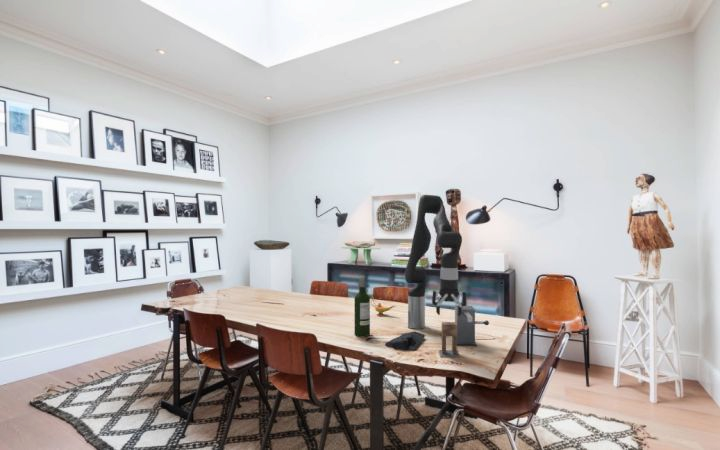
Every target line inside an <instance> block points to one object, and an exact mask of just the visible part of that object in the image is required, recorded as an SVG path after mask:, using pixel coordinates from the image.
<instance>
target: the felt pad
mask: <svg viewBox="0 0 720 450" xmlns="http://www.w3.org/2000/svg"><path fill="white" fill-rule="evenodd" d="M438 352H439V355H440V358H452V359H453V358H454V359H456V358H457V359H461V356H460V353H459V351H458V350H457V355H453V353H452V349H451V350H450V349H446V355H443V354H442V349H439V350H438Z"/></svg>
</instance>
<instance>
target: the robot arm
mask: <svg viewBox="0 0 720 450" xmlns="http://www.w3.org/2000/svg"><path fill="white" fill-rule="evenodd" d="M426 214H435V217H434V218H433V223H432V224H433V227H434V229H435V232H436V243H437V245H438V247H439V248H441V249H442V248H443V249H450V251H449V252H445V253H443V254H441V256H440V272H439V273H440V274H439V285H440V286H439V290H435V289H433V291H432V295H431V296H432V297H431V298H432V299H431V303H432V305H433V306H435V307H436V309H435V312H436V314H437V315H438V316H441V314H440V313H441V307H440V305H441V304H443V302H444V301H445V302H455V304H457V305H458V316H460V314H462V306H467V296H466V295H467V294H466V291H465V290H462V291H459V271H458V270H459V269H458V262H459V261H458V260H459V254H460V249H461V247H462V243H463V238H462V235H461V233H460V232H458V231H453V227H452V224H451V223H450V221H449V219H448V216H447V214H446V210H445V205H444V202H443V199H442V197H441V196H440V195H434V194H422V195H421V196H420V198H419V201H418V209H417V218H416V222H415V223H416V224H415V229H414V232H413V237H412V243H411V249H410V253H409V258H408V259H407V260H408V261H407V263H406V268H405V272H404V281H405V282H406V283H407V284H415V286H413V287H412V288H410V289H408V291H407V328H409V329H416V330H417V329H418V330H419V329H424V328H425V327H426V306H425V305H426V290H427V289H426V288H427V271H426V268H425V267H424V266H423V265H422V266H420V265H418V263H419V262H420V260H421V259H422V258H423V257H424V255H426V253H427V252H428V251H429V249H430V245H431V241H432V234H431V232H430V229H429V227H428V225H427V222H426ZM417 265H418V266H417ZM438 295H440V298H438V301H437V302H436V298H437V296H438ZM459 295H460V297H461V300H462V301H461V302H460V301H459V300H458V297H459Z"/></svg>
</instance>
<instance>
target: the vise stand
mask: <svg viewBox="0 0 720 450" xmlns="http://www.w3.org/2000/svg"><path fill="white" fill-rule="evenodd" d="M454 322H456V324H457V347H461V346H462V347H478V343H477V341H476V325H485V326H488V325H490V321H489V320H484V321H483V320H481V321H479V320H476V309H475V308H474V306H472V305H466V306H462V314H460V316H458V304H457V305H454Z"/></svg>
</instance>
